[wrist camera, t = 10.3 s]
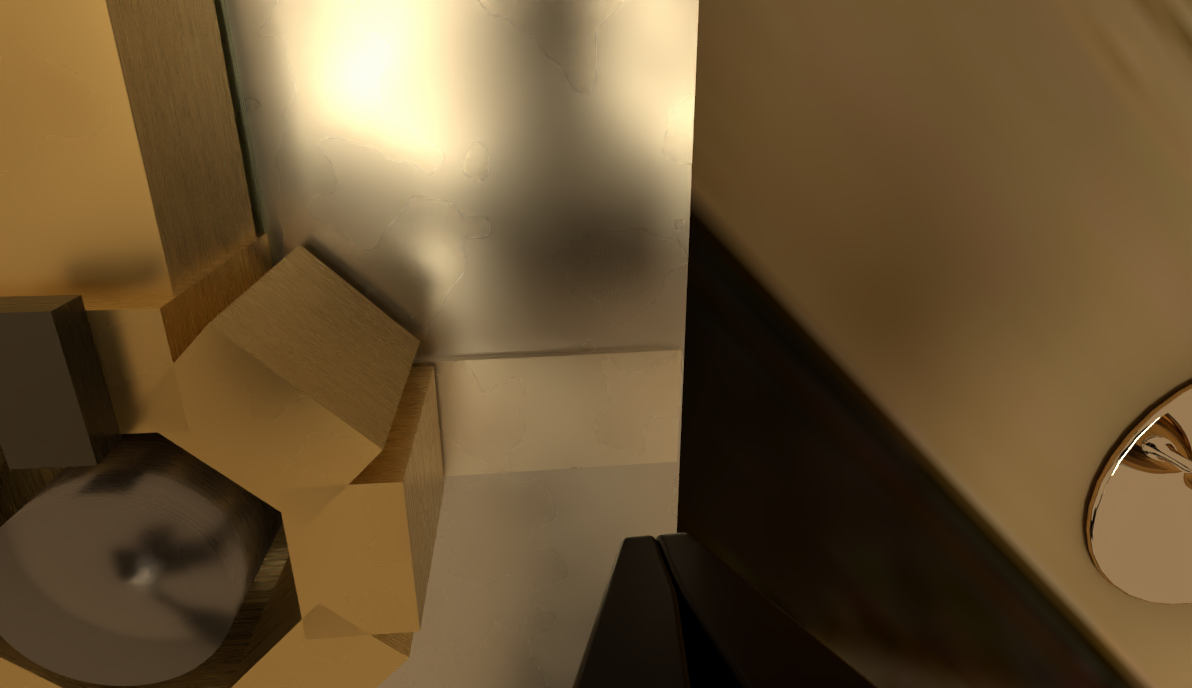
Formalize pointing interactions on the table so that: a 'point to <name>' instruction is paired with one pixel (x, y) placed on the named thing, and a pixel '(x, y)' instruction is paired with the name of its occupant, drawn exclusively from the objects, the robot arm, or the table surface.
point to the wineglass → (1148, 507)
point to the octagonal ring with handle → (201, 341)
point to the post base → (428, 330)
